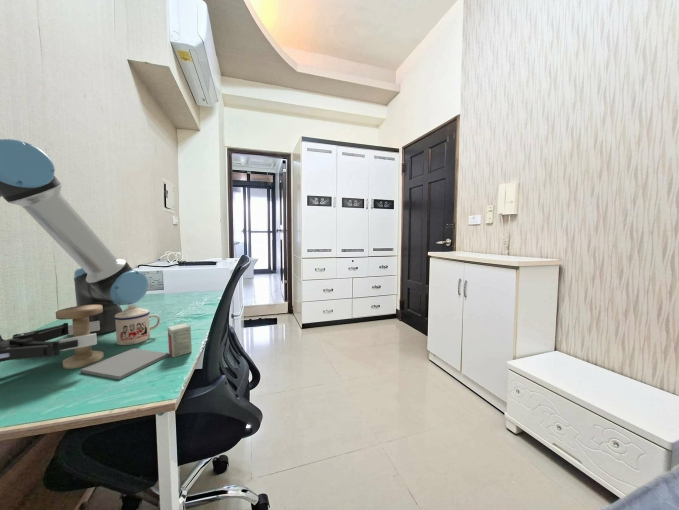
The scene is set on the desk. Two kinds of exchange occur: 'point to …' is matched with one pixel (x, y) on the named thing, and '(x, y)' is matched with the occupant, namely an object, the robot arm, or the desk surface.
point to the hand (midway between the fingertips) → (98, 331)
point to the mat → (124, 363)
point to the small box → (179, 339)
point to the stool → (81, 334)
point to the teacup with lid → (133, 325)
